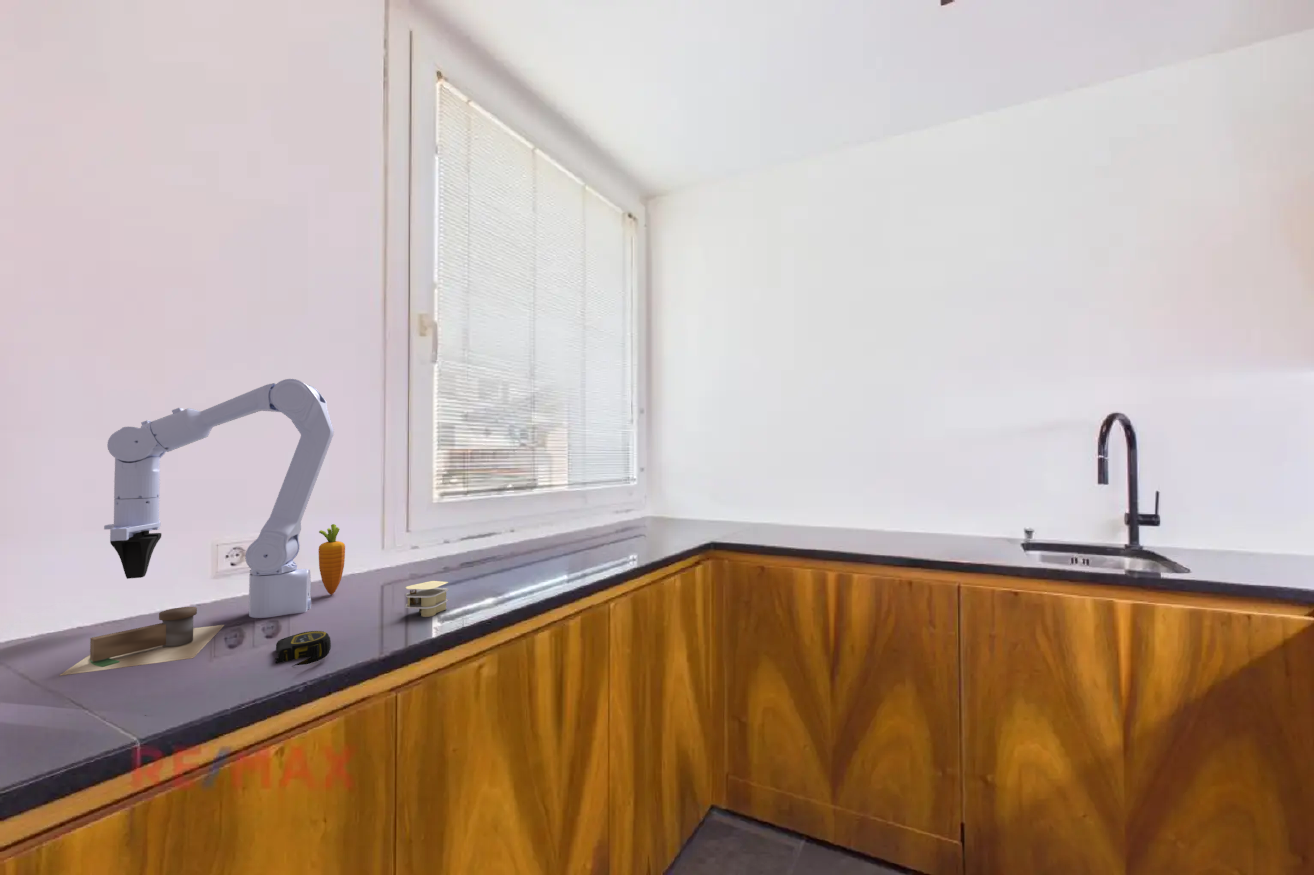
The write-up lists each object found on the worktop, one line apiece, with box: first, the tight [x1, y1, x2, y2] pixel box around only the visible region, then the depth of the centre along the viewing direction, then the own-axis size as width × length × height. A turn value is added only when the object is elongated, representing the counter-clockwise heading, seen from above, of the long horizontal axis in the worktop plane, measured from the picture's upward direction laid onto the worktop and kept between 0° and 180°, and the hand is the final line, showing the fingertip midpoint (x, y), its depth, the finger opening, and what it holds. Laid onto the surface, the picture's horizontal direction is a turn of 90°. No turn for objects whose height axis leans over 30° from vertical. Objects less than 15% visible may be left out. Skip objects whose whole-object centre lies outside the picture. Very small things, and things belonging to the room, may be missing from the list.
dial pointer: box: [89, 606, 198, 662], centre depth 82 cm, size 12×4×5 cm, turn 149°
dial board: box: [58, 624, 225, 677], centre depth 84 cm, size 14×17×2 cm
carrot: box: [318, 523, 346, 596], centre depth 120 cm, size 5×5×15 cm
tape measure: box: [274, 630, 332, 667], centre depth 82 cm, size 7×7×4 cm
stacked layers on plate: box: [404, 580, 450, 618], centre depth 106 cm, size 10×9×6 cm
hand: (135, 577), depth 95 cm, fingers closed
